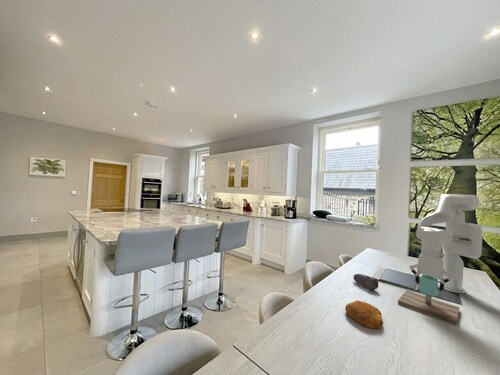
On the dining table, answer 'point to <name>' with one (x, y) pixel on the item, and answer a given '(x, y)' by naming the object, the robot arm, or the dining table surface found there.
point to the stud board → (430, 306)
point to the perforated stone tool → (366, 281)
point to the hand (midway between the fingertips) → (429, 286)
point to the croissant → (365, 314)
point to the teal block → (429, 285)
